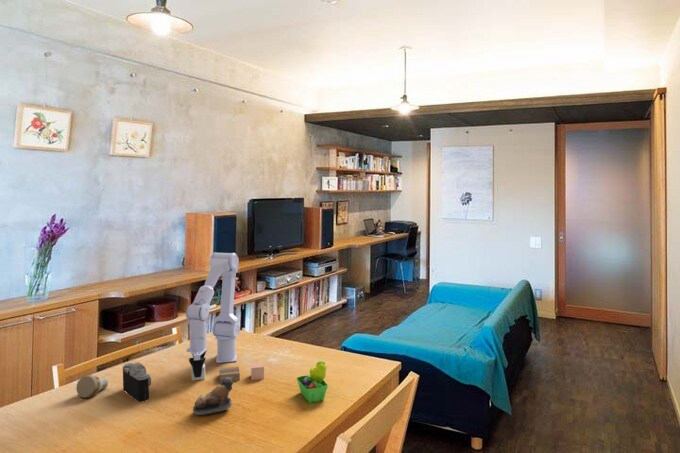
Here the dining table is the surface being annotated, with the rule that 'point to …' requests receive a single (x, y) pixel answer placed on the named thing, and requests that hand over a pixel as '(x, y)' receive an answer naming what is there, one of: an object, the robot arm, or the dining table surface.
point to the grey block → (201, 374)
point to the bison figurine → (215, 399)
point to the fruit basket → (314, 383)
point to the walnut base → (230, 373)
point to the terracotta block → (257, 371)
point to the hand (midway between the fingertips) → (198, 373)
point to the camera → (136, 381)
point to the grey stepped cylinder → (90, 385)
